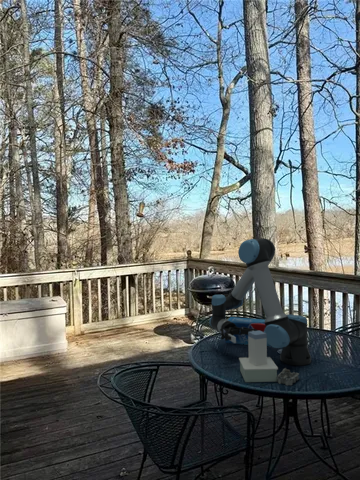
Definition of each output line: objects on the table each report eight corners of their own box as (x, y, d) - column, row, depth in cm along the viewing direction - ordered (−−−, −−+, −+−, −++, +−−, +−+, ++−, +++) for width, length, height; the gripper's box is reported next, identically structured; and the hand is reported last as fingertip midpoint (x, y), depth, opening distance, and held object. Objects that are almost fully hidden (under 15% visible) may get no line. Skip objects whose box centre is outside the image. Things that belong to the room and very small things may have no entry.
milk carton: (259, 359, 187) (259, 330, 186) (266, 364, 181) (266, 333, 181) (248, 361, 185) (248, 331, 184) (255, 365, 179) (255, 335, 178)
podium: (270, 369, 191) (270, 357, 190) (278, 381, 176) (278, 368, 175) (239, 370, 190) (238, 357, 190) (244, 382, 175) (244, 369, 175)
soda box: (225, 343, 234) (224, 321, 233) (230, 337, 246) (230, 316, 246) (296, 350, 220) (296, 326, 219) (298, 342, 232) (298, 320, 232)
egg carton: (285, 375, 183) (285, 367, 183) (301, 379, 178) (301, 370, 178) (274, 382, 175) (274, 373, 175) (290, 387, 170) (290, 377, 170)
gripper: (247, 332, 215) (270, 343, 195) (205, 337, 206) (224, 349, 186) (247, 318, 215) (270, 327, 195) (205, 323, 206) (224, 333, 186)
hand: (247, 338), depth 190 cm, fingers open, 13 cm apart
